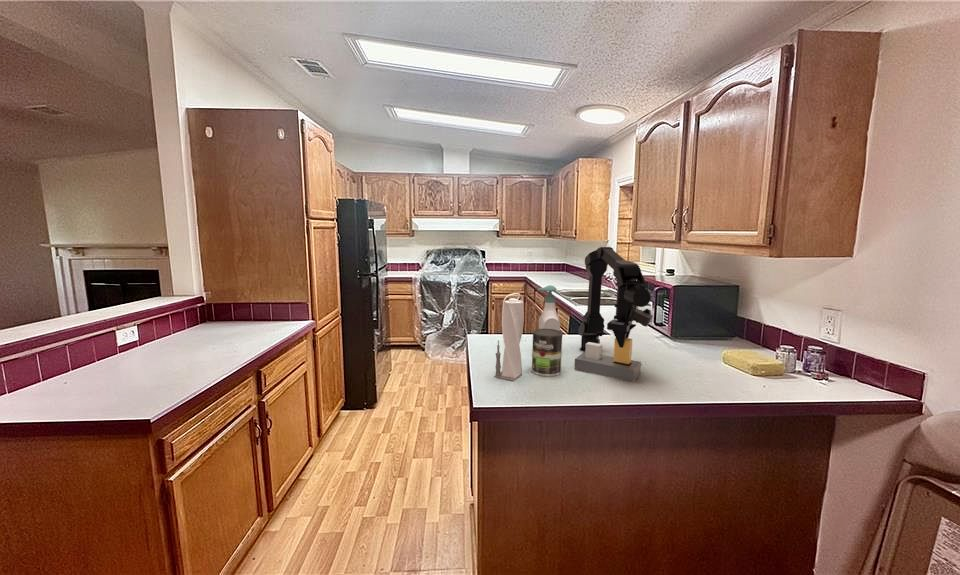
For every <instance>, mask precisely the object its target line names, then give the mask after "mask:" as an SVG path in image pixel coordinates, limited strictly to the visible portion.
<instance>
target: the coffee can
mask: <svg viewBox="0 0 960 575" xmlns="http://www.w3.org/2000/svg"><path fill="white" fill-rule="evenodd" d="M563 334H564V333H563V332H562V331H561V330H560V331H559V330H554V329H539V328H537V329H534V330H532V351H531V352H532V353H531V355H532V356H531V357H532V358H531V361H532V362H531V372H532V373H533V374H535V375H537V376H541V377H556V376H560V374H561V373H562V354H563V352H562V350H563Z"/></svg>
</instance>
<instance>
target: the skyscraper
mask: <svg viewBox="0 0 960 575" xmlns="http://www.w3.org/2000/svg"><path fill="white" fill-rule="evenodd" d="M513 295H518V296H517V298H509V297H510V296H513ZM520 297H521V293H519V292H513V293H509V294H506V296H505V297H504V299H503V301H502V309H501V310H502V312H501V315H502V316H501V330H502V339H503V344H504V348H503V357H502V365H501V352H500V346H501V345H500V340H497V345H496V347H497V350H496V353H495V361H496V362H495V375H494V377H493V378H495V377H496V378H495V379H500V378H501V379H500V380H504V379H505V381H510V382H515V381H517V379H519V378H521V376H522V375H523V366H522V365H523V364H522V353H521V345H520V343H521V340H522V336H523V330H524V318H525V316H524V314H525V310H524V309H525V308H524V301H523V300H519V299H520ZM507 298H509V299H508V300H507Z"/></svg>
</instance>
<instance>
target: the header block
mask: <svg viewBox="0 0 960 575" xmlns="http://www.w3.org/2000/svg"><path fill="white" fill-rule="evenodd" d="M641 366H642V362H641V361H639V360H632V359H631V362H630V363H629V364H625V363H620V362H615V361H614V356H610V355H605V354H602V359H601V360H600V361H599V360H594V359H589V358H585V351H583V352H582V353H581V354H579V355H578V356H576V357H575V358H574V370H575V371H580V372H583V373H589V374H593V375H597V376H603V377H606V378H607V377H609V378H611V379H617V380H622V381H627V382H632V383H634V382H635V381H636V379H637V378H638V377H639V376H640V375H641V368H642V367H641Z"/></svg>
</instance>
